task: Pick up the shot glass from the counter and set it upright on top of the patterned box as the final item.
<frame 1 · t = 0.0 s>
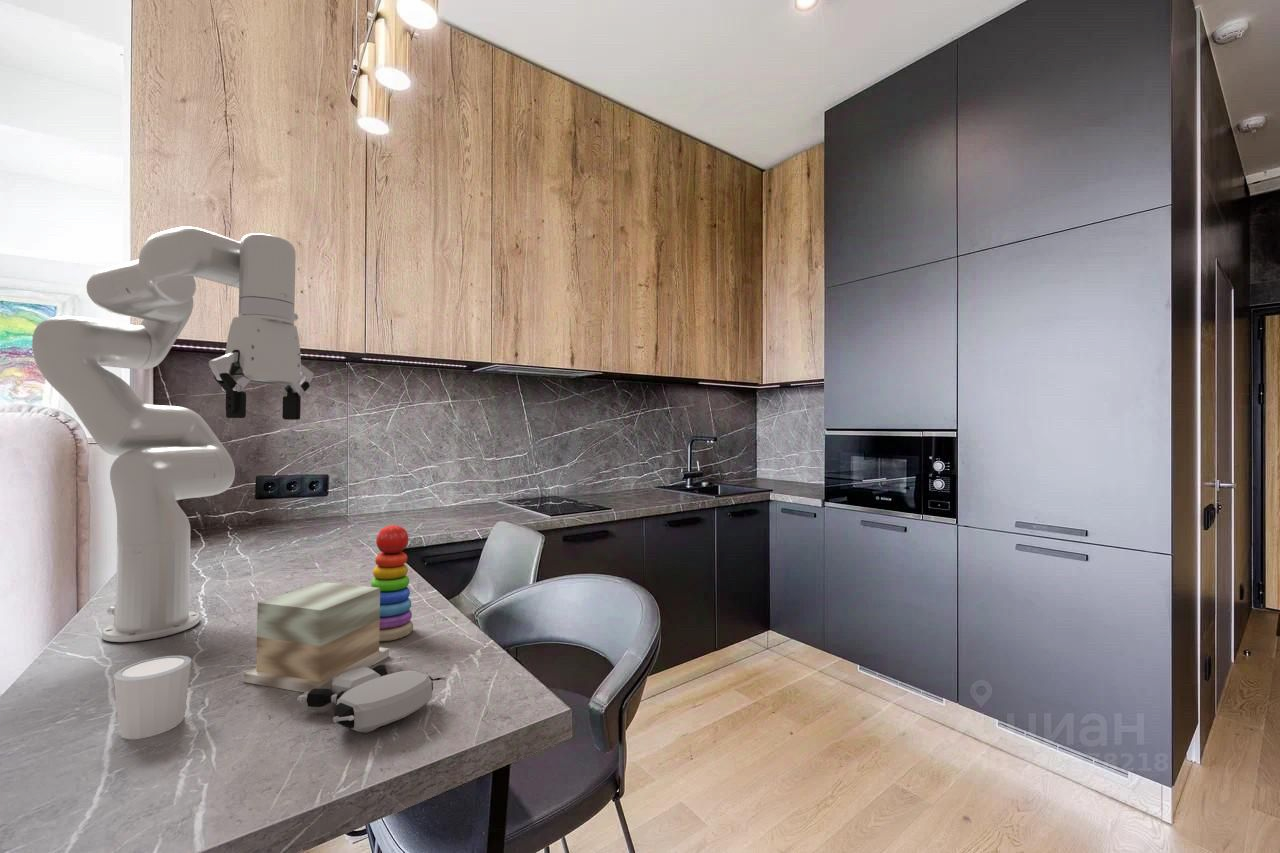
hand: (265, 418, 88), 37 cm above the counter, tool pointing down, fingers open, 9 cm apart
shot glass: (152, 727, 64), on the counter
stacking toy: (388, 635, 93), on the counter
robot toy: (370, 714, 68), on the counter
patterned box: (320, 668, 80), on the counter
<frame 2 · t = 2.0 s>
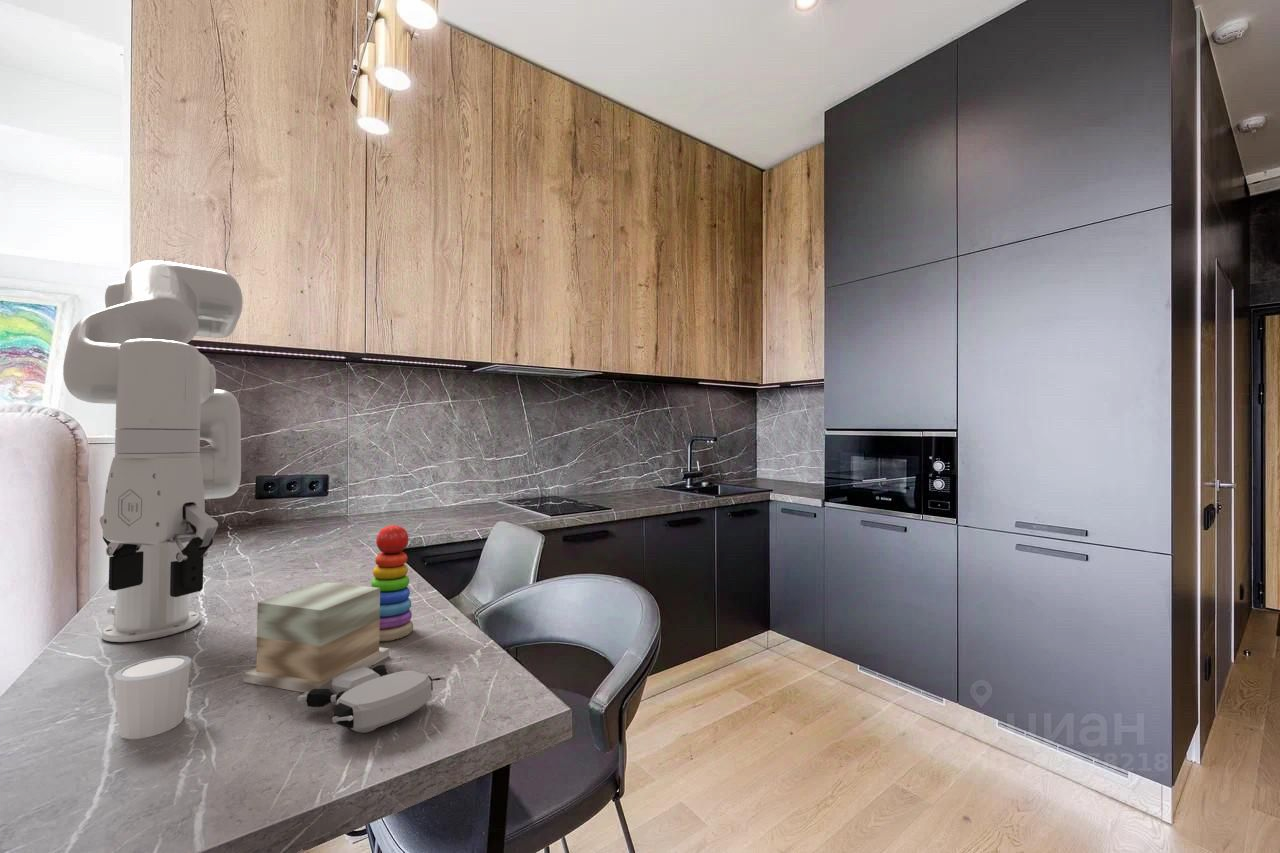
hand: (155, 590, 64), 16 cm above the counter, tool pointing down, fingers open, 9 cm apart
nothing on the counter moved.
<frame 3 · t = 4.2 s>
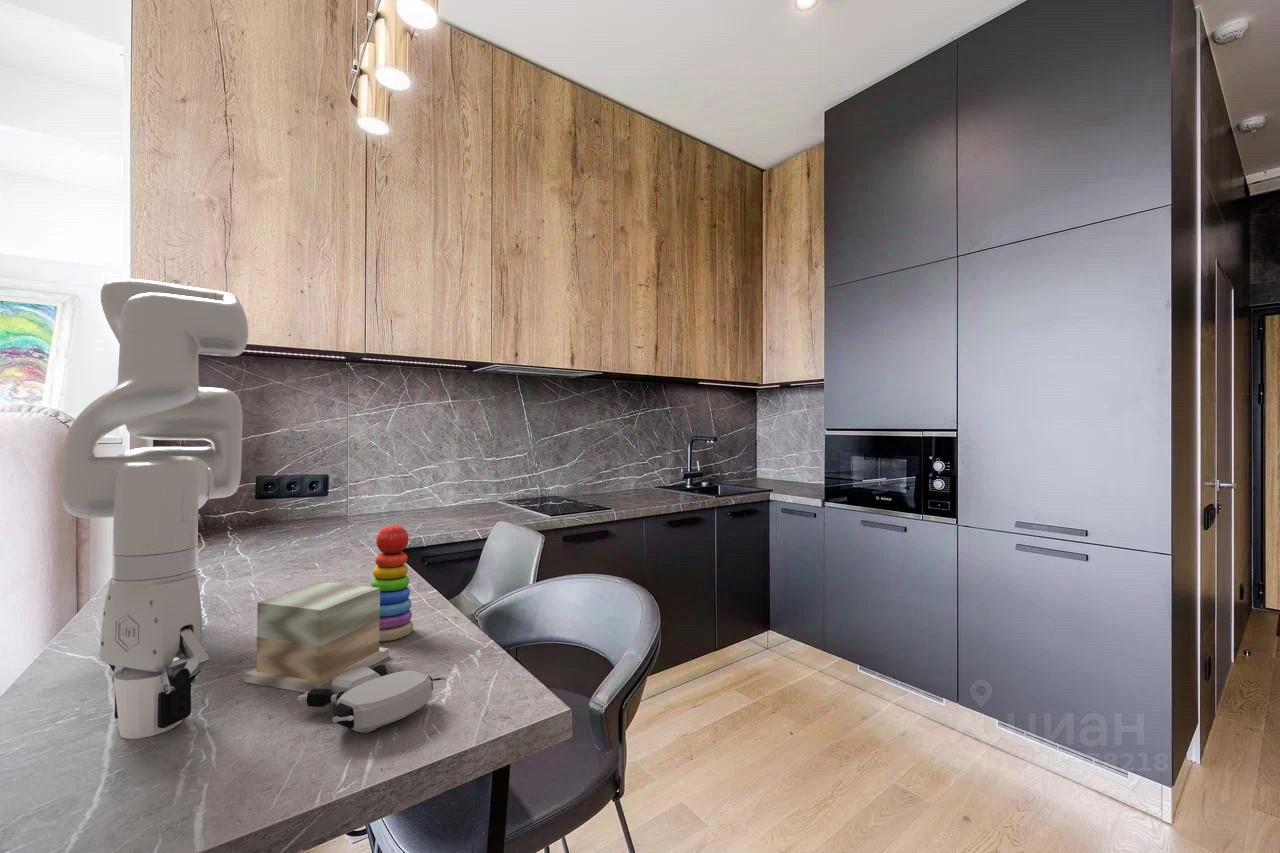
hand: (152, 716, 64), 1 cm above the counter, tool pointing down, fingers closed on shot glass, 6 cm apart
shot glass: (152, 727, 64), on the counter, touching gripper
everything else where it was.
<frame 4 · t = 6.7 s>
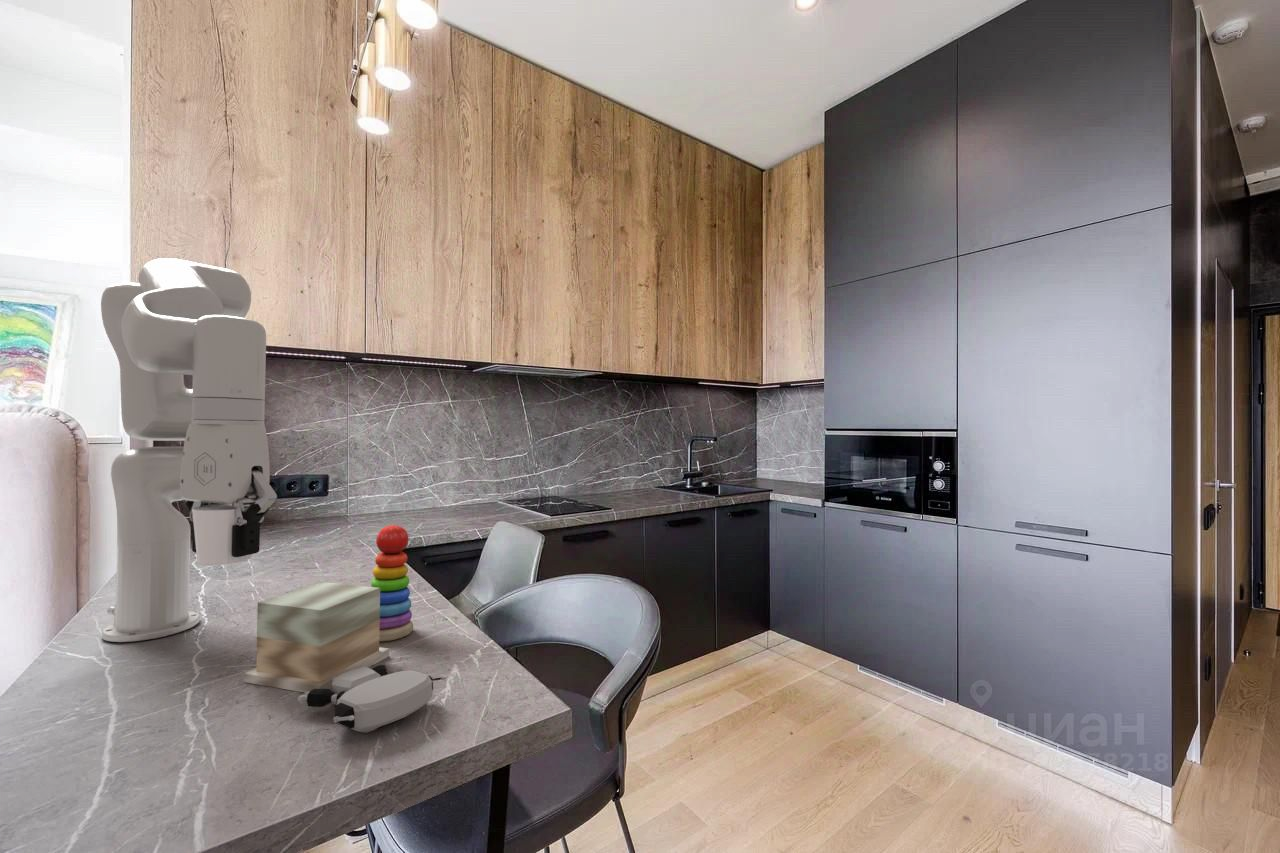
hand: (225, 551, 70), 19 cm above the counter, tool pointing down, fingers closed on shot glass, 6 cm apart
shot glass: (225, 561, 70), point 18 cm above the counter, touching gripper
everything else where it was.
when the fingers open (13 cm above the counter, at t = 9.5 s): shot glass moves 1 cm, resting on patterned box.
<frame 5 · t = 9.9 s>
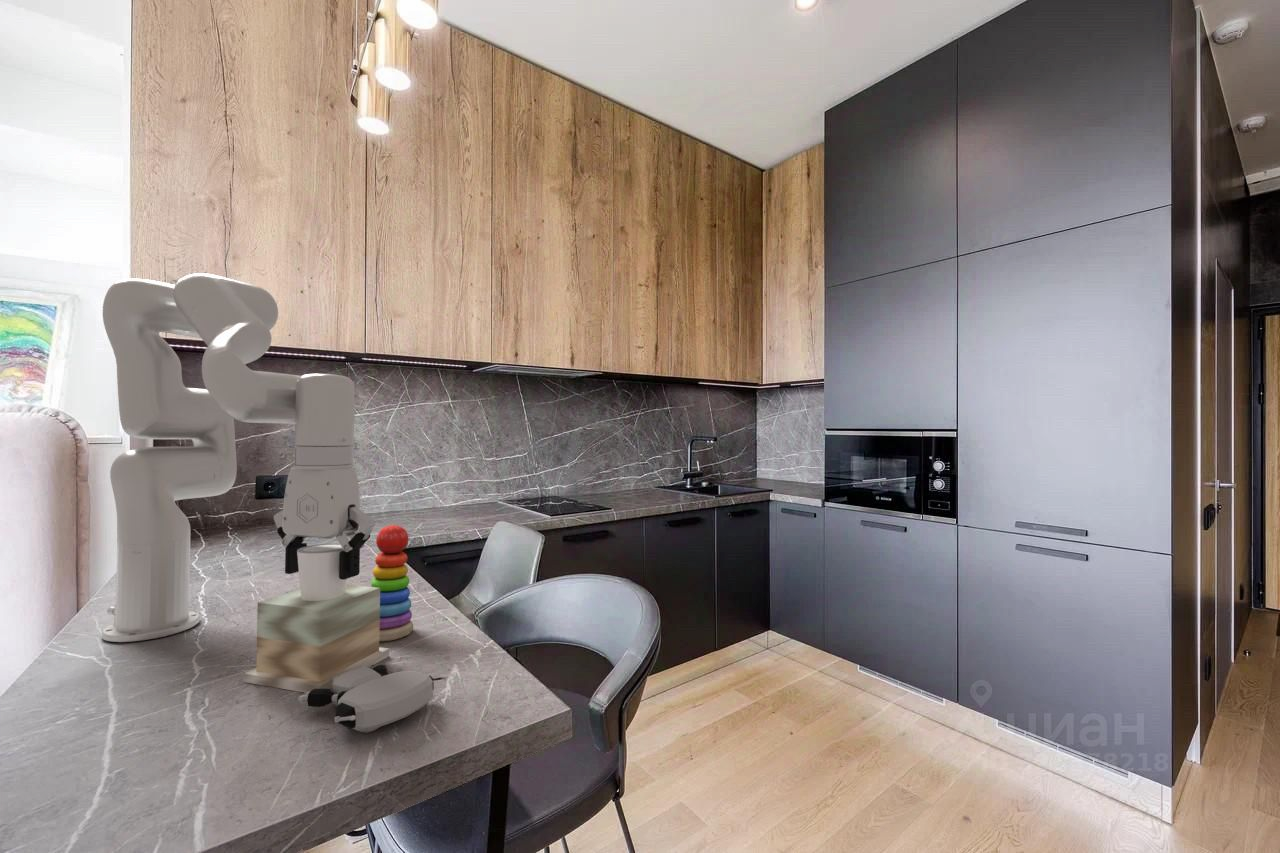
hand: (322, 574, 80), 14 cm above the counter, tool pointing down, fingers open, 9 cm apart
shot glass: (323, 596, 80), point 11 cm above the counter, touching patterned box
everything else where it was.
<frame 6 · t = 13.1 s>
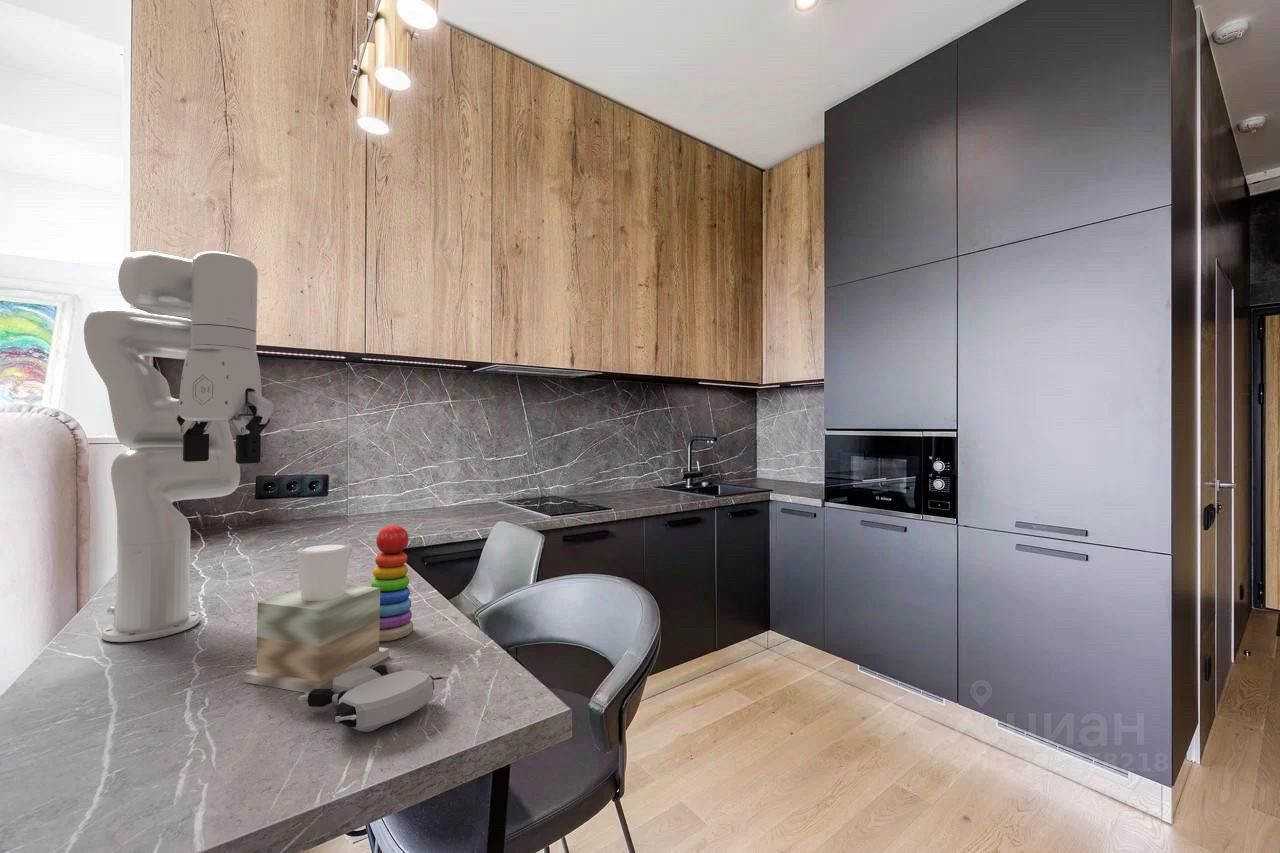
hand: (221, 462, 78), 30 cm above the counter, tool pointing down, fingers open, 9 cm apart
nothing on the counter moved.
at the end: shot glass 0.3 cm off-centre on the patterned box, point 10.6 cm above the patterned box's base; shot glass tilted 0°; the gripper is holding nothing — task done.
